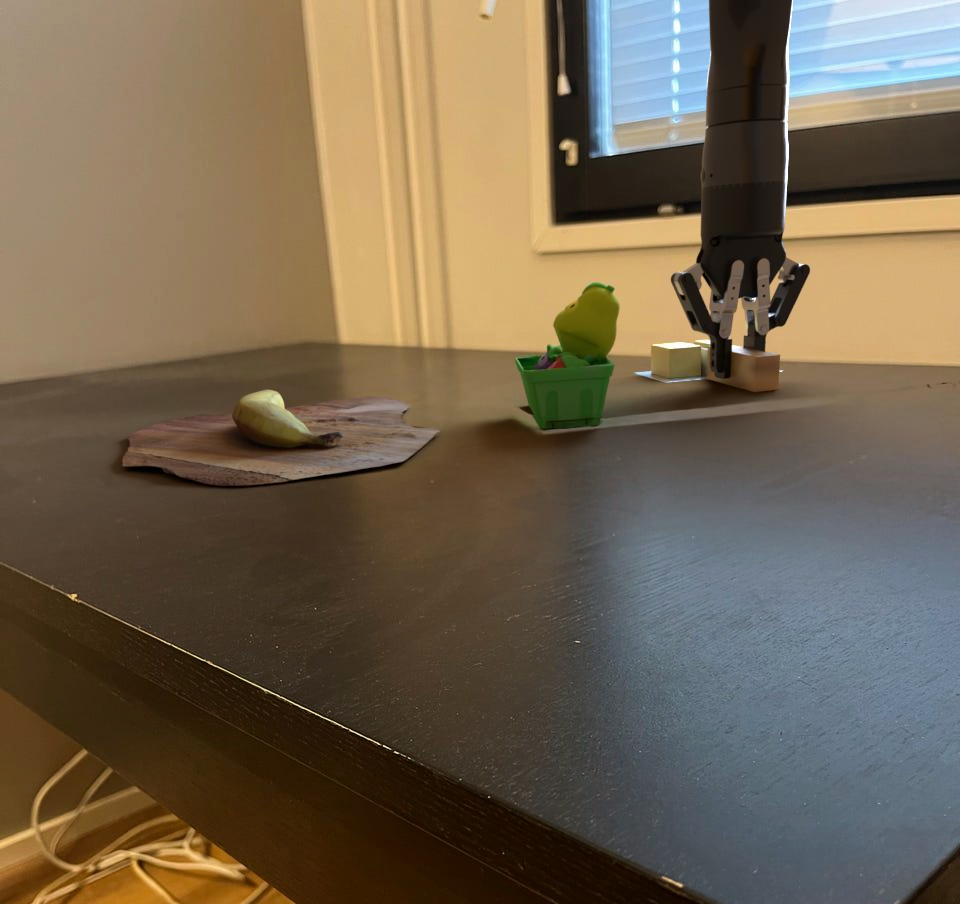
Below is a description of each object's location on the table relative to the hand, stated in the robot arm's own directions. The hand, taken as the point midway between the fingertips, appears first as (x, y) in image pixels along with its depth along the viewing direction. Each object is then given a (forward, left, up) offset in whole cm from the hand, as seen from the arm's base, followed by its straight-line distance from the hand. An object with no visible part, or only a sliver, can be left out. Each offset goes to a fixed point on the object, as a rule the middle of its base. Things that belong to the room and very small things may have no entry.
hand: (736, 375), depth 96 cm
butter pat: (-2, -9, -1) cm, 9 cm away
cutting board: (+44, +2, -2) cm, 44 cm away
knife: (0, -4, -1) cm, 4 cm away
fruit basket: (+19, +6, -2) cm, 20 cm away
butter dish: (-1, -9, -1) cm, 9 cm away
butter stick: (+2, -9, -1) cm, 9 cm away
